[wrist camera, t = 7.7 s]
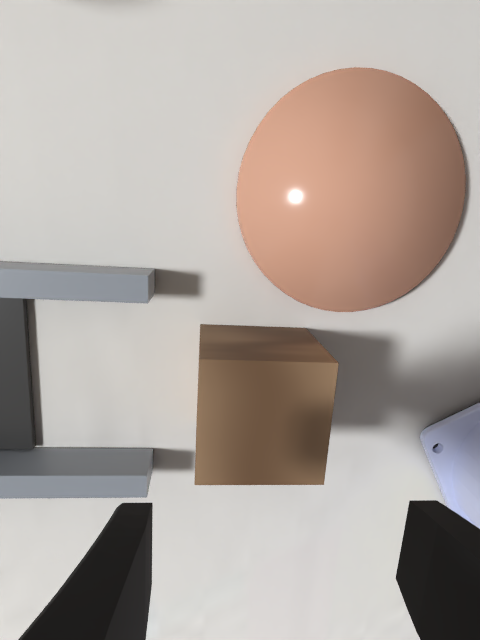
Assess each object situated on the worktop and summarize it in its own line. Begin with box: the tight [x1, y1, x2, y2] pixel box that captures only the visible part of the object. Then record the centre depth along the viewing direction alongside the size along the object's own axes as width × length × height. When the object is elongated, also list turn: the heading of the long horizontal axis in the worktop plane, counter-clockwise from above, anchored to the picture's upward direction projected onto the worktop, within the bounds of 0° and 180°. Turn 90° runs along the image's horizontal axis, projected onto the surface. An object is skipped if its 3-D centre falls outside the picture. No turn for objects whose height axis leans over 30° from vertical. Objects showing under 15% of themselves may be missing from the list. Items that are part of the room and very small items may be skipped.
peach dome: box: [236, 67, 466, 312], centre depth 16 cm, size 9×9×1 cm
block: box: [195, 324, 339, 485], centre depth 16 cm, size 4×4×4 cm
